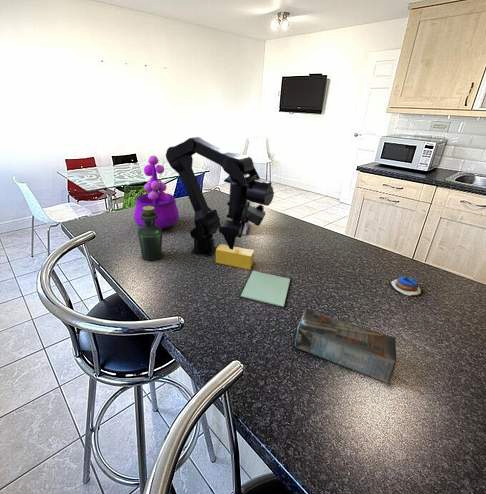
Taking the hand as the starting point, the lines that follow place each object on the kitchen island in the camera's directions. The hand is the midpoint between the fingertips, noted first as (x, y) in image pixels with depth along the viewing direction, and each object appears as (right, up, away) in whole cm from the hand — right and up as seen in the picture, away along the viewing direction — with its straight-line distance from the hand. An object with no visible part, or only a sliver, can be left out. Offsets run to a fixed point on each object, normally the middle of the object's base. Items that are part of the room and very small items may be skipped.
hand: (235, 243), depth 96 cm
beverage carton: (+21, -23, -32) cm, 44 cm away
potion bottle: (-29, -5, +6) cm, 30 cm away
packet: (0, -7, +3) cm, 8 cm away
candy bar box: (+5, +4, +29) cm, 29 cm away
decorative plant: (-31, +6, +30) cm, 44 cm away
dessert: (+50, -13, -8) cm, 53 cm away
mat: (+8, -13, -10) cm, 18 cm away
